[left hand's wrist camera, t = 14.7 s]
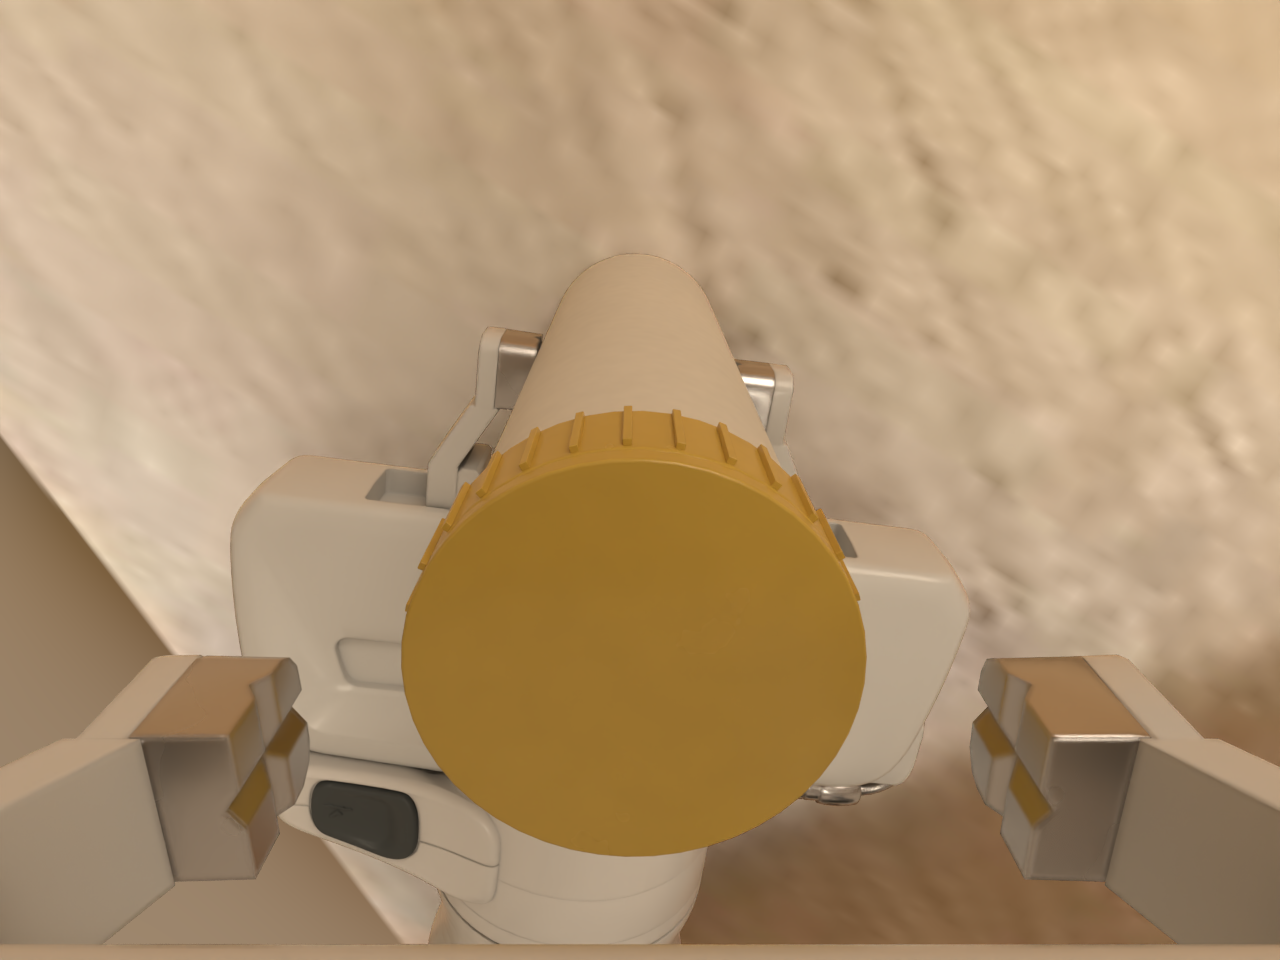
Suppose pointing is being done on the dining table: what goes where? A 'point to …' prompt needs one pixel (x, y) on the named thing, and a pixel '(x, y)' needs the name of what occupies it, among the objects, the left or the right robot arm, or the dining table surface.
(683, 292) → the jar
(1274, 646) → the dining table surface
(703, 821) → the lid
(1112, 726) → the left robot arm
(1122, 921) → the dining table surface
